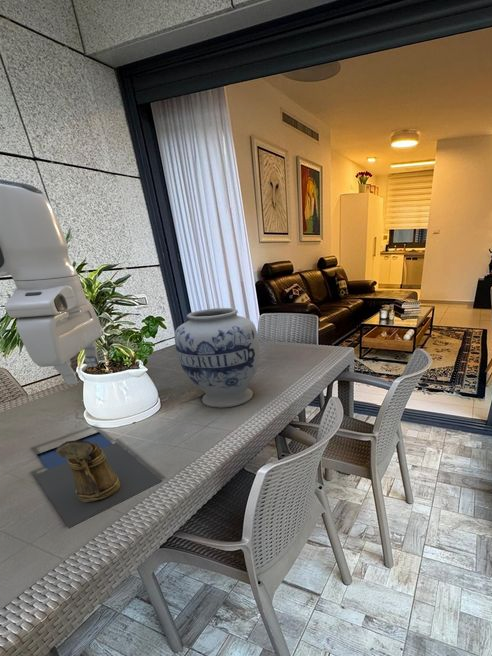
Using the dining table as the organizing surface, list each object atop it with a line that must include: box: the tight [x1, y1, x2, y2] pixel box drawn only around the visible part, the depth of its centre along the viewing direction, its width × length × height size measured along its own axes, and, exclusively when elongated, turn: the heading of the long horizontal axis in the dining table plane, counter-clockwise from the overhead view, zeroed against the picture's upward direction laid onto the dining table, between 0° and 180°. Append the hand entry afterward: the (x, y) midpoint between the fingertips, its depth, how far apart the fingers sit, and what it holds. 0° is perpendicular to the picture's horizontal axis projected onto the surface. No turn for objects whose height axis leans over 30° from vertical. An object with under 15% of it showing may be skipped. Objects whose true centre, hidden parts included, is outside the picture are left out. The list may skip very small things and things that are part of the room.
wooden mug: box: [55, 440, 121, 503], centre depth 76 cm, size 9×14×18 cm, turn 29°
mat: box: [36, 431, 114, 470], centre depth 100 cm, size 16×14×1 cm
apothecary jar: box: [174, 307, 261, 409], centre depth 119 cm, size 27×27×30 cm
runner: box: [33, 442, 163, 529], centre depth 86 cm, size 20×28×1 cm
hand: (84, 374), depth 66 cm, fingers open, 8 cm apart
